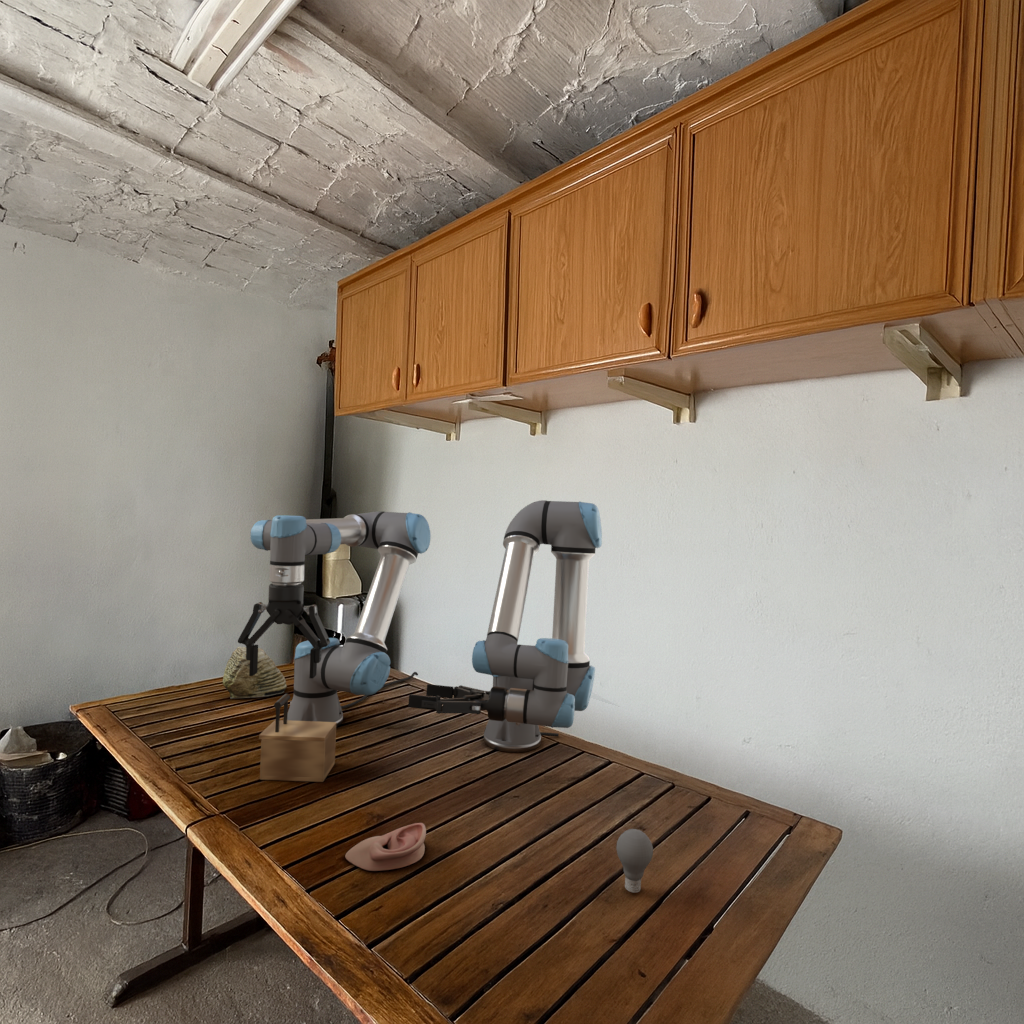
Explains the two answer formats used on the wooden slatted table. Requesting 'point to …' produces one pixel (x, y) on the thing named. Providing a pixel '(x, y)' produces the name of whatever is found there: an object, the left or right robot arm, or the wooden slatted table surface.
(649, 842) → the light bulb
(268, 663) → the fossil
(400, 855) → the anatomical model
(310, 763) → the chest
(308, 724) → the lid
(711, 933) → the wooden slatted table surface
